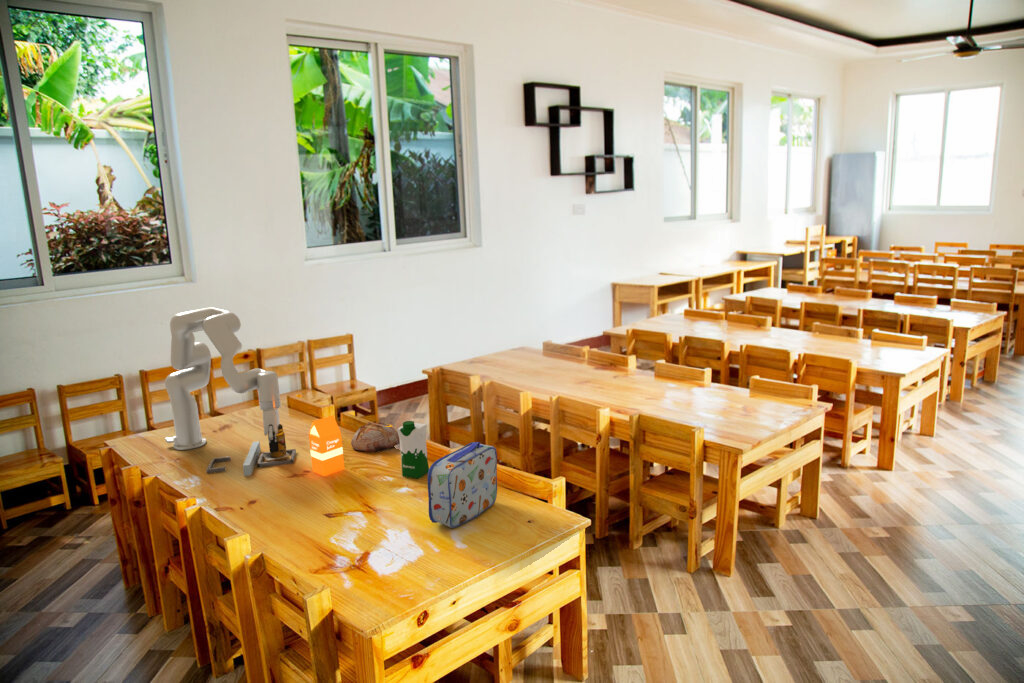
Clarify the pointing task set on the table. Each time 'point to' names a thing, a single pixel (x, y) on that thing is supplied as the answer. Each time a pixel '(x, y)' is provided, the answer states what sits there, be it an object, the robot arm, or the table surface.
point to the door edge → (251, 458)
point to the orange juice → (326, 446)
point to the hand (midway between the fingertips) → (275, 448)
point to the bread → (375, 437)
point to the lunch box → (462, 484)
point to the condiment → (281, 446)
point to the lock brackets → (259, 464)
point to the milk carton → (413, 449)
